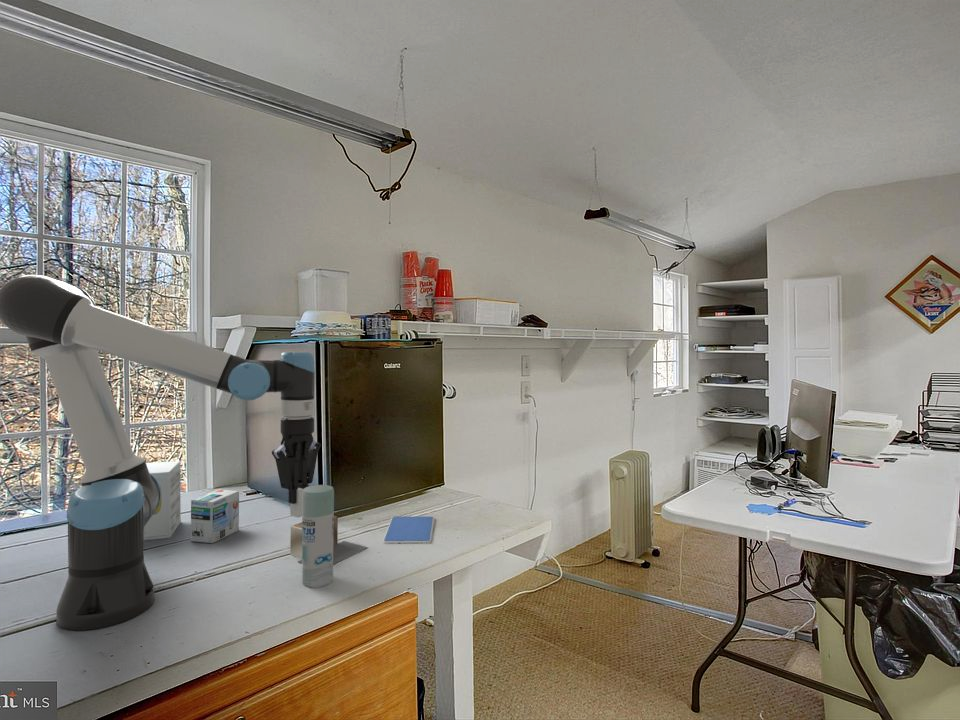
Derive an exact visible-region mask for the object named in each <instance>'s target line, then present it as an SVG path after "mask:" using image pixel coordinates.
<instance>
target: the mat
mask: <svg viewBox="0 0 960 720" xmlns="http://www.w3.org/2000/svg"><path fill="white" fill-rule="evenodd" d="M366 549H369V547H367V546H365V545H361V544H356V543H353V542H350V541H346V540H343V541H341V542H338V544H336V545H334V546H333V566H334V565H336V564H337V563H339V562H342V561H344V560H346V559H348V558H349V557H352V556H354V555H356V554H358V553H360V552H362V551H364V550H366ZM297 563H299V564H302V559H300V560H298V561H297Z"/></svg>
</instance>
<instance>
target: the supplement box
mask: <svg viewBox="0 0 960 720" xmlns="http://www.w3.org/2000/svg"><path fill="white" fill-rule="evenodd" d="M181 462H182V461H180V460H178V461H176V460H175V461H155V462H146V465H147V468H148V470H149V473H150V474H152V475H153V476H154V477H155V478H156V479H157V481H158V483H159V485H160V489H161V496H160V502H159V506H158V508H157V510H156V511H155V513H154V514H153V516H152V517H151V518H150V519H149V521H148V522H147V524H146V525H145V526H144V541H150V540H151V541H152V540H161V539H163V540H164V539H170V538H171V537H172V536H173V534H174V533H175V531H176V530H177V528H178V527H179V525H180V524H181V522H182V521H181V520H182V518H181V515H182V514H181V512H182V511H181V509H182V508H181V469H182V468H181V464H182V463H181Z"/></svg>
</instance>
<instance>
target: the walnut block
mask: <svg viewBox="0 0 960 720" xmlns="http://www.w3.org/2000/svg"><path fill="white" fill-rule="evenodd" d="M338 518H339V517H338V516H336V515H334V533H333V546H334V545H336V544H338V543H339V542H338V541H339V540H338V536H339V535H338V532H339V531H338V530H339V529H338V528H339V527H338V526H339V525H338V522H339V519H338ZM289 544H290V545H289V546H290V553H289V554H290V556H292V557H295V558H298V559H300V560H302V521H301V522H298V523H296V524H294V525H291V526H290V543H289Z"/></svg>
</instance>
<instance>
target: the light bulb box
mask: <svg viewBox="0 0 960 720" xmlns="http://www.w3.org/2000/svg"><path fill="white" fill-rule="evenodd" d="M239 524H240V491H238V490H228V489H227V490H226V489H216V490H214V491H211V492H209V493H206V494H203V495H201V496H199V497H196V498H193V499H191V500H190V541H191V542H195V543H196V542H197V543H204V544H205V543H206V544H214V543H215V542H218V541H220V540H222V539H224V538H226V537H227V536H230V535H231V534H233V533H236V532H238V531H239V530H240V528H239V527H240V525H239Z"/></svg>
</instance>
